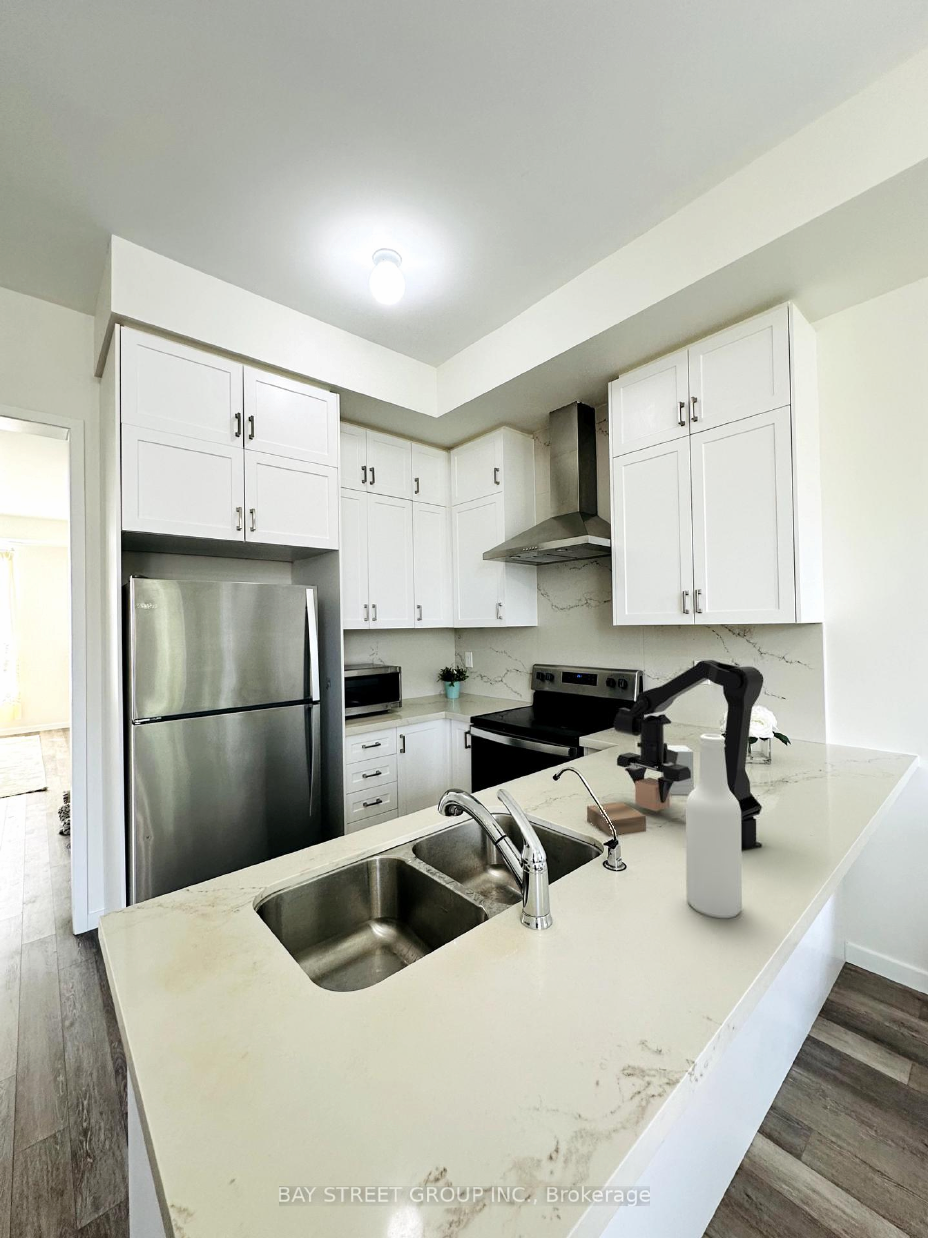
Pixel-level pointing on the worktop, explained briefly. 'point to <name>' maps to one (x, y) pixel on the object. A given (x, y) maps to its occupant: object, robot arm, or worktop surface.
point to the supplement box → (686, 760)
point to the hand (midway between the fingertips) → (652, 799)
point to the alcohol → (713, 837)
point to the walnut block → (617, 818)
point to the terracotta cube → (649, 794)
